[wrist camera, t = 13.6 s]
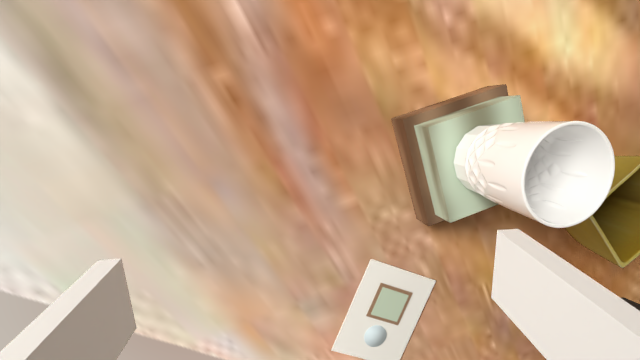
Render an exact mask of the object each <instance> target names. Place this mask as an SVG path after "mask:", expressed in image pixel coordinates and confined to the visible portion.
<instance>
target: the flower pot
mask: <svg viewBox="0 0 640 360" xmlns="http://www.w3.org/2000/svg"><path fill="white" fill-rule="evenodd" d="M614 157H615V173H614V178H613V182H612V186H611V188H610V191H609V193H608V195H607V197H606V199H605V200H604V202H603V203H602V205H601V206H600V207H599V208H598V210H597V211H596V212H595V213H594V214H593V215H591V216H590V217H589V218H587V219H586V220H584V221H583V222H581V223H579V224H577V225H574V226H571V227H566V228H565V229H566V230H567V231H568V232H569V234H570V235H571V236H572V237H573V238H574V239H576V240H577V241H578V242H579V243H581V244H582V245H583V246H585V247H586V248H588V249H590V250H591V251H593V252H595V253H597V254H598V255H600V256H602V257H604V258H605V259H607V260H609V261H611V262H612V263H614V264H616V265H618V266H619V267H621V268H624V267H625V266H626V265H628V264H629V263H630V262H632V261H633V260H634V259H635V258H636V257H638V256H639V255H640V156H614Z"/></svg>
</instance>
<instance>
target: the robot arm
mask: <svg viewBox="0 0 640 360" xmlns="http://www.w3.org/2000/svg"><path fill="white" fill-rule="evenodd" d="M491 298H492V299H493V300H494V301H495V302H496V303H497V305H498V306H499V307H500V308H501V309H502V310H503V311H504V312H505V313H506V315H507V316H508V317H509V318H510V319H511V320H512V321H513V322H514V324H515V325H516V326H517V327H518V328H519V329H520V330H521V331H522V332H523V334H524V335H525V336H526V337H527V338H528V339H529V340H530V341H531V343H532V344H533V345H534V346H535V347H536V348H537V349H538V350H539V351H540V353H541V354H542V355H543V356H544V357H545V358H546V359H547V360H640V304H638V303H635V302H633V301H631V300H628V299H626V298H624V297H623V298H620V297H618V296H617V295H615V294H614V293H612V292H611V291H609V290H608V289H606V288H605V287H603V286H602V285H601V284H599V283H598V282H596V281H595V280H593V279H592V278H590V277H589V276H587V275H586V274H584V273H583V272H581V271H580V270H578V269H577V268H575V267H574V266H572V265H571V264H569V263H568V262H567V261H565V260H564V259H562V258H561V257H559V256H558V255H556V254H555V253H553V252H552V251H550V250H549V249H547V248H546V247H544V246H543V245H541V244H540V243H538V242H537V241H535V240H534V239H533V238H531V237H530V236H528V235H527V234H525V233H524V232H522V231H521V230H519V229H508V230H497V240H496V251H495V262H494V273H493V285H492V296H491ZM135 329H136V323H135V319H134V314H133V310H132V305H131V300H130V296H129V291H128V287H127V282H126V277H125V273H124V268H123V264H122V259H109V260H98V261H97V262H96V263H95V264H94V265H93V266H92V267H90V268H89V269H88V270H87V271H86V272H85V273H84V274H83V275H82V276H81V277H80V278H79V279H78V280H77V281H75V282H74V283H73V284H72V285H71V286H70V287H69V288H68V289H67V290H66V291H65V292H64V293H63V294H62V295H60V296H59V297H58V298H57V299H56V300H55V301H54V302H53V303H52V304H51V305H50V306H49V307H48V308H47V309H45V310H44V311H43V312H42V313H41V314H40V315H39V316H38V317H37V318H36V319H35V320H34V321H33V322H32V323H30V324H29V325H28V326H27V327H26V328H25V329H24V330H23V331H22V332H21V333H20V334H19V335H18V336H17V337H16V338H14V339H13V340H12V341H11V342H10V343H9V344H8V345H7V346H6V347H5V348H4V349H3V350H2V351H1V352H0V360H116V359H117V358H118V356H119V355H120V353H121V351H122V350H123V348H124V347H125V345H126V344H127V342H128V340H129V339H130V337H131V336H132V334H133V332H134V331H135Z"/></svg>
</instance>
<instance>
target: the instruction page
mask: <svg viewBox="0 0 640 360" xmlns="http://www.w3.org/2000/svg"><path fill="white" fill-rule="evenodd" d="M435 282H436V280H433V279H430V278H427V277H424V276H421V275H418V274H415V273H412V272H410V271H407V270H404V269H401V268H398V267H395V266H392V265H389V264H386V263H383V262H380V261H377V260H374V259H370V262H369V264H368V266H367V269H366V271H365V273H364V275H363V278H362V280H361V282H360V285H359V287H358V289H357V292H356V294H355V296H354V298H353V301H352V303H351V305H350V308H349V310H348V312H347V315H346V317H345V319H344V321H343V324H342V326H341V328H340V331H339V333H338V335H337V338H336V340H335V342H334V344H333V347H332V349H331V350H332V351H335V352H339V353H343V354H347V355H351V356H355V357H359V358H363V359H366V360H400V359H401V356H402V354H403V352H404V350H405V348H406V346H407V343H408V341H409V339H410V337H411V335H412V332H413V330H414V328H415V326H416V324H417V321H418V319H419V317H420V315H421V313H422V310H423V308H424V306H425V304H426V302H427V299H428V297H429V295H430V293H431V291H432V288H433V286H434V284H435Z"/></svg>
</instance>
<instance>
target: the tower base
mask: <svg viewBox="0 0 640 360" xmlns="http://www.w3.org/2000/svg"><path fill="white" fill-rule="evenodd" d="M391 120H392V124H393V128H394V132H395V136H396V139H397V143H398V147H399V151H400V155H401V159H402V163H403V167H404V171H405V175H406V179H407V183H408V186H409V190H410V194H411V198H412V202H413V206H414V210H415V214H416V218H417V219H418V220H420V221H422V222H423V223H425V224H426V225H428V226H431V225H434V224H436V223H439V222H441V221H444V220H446V221H448V222H450V223H451V222H454V221H456V220H459V219H462V218H464V217H467V216H469V215H472V214H475V213H477V212H480V211H482V210H485V209H488V208H490V207H493V206H495V205H498V204H497V203H495V202H493V201H491V200H489V199H487V198H485V197H484V196H482V195H481V194H479V193H476V192H474V191H472V190H469V189H467V188H466V187H465V186H464V185H463V184H462V183H461V182H460V180H459V179H458V178H457V176H456V172H455V168H454V157H455V152H456V147H457V146H458V144H459V143H460V141H461V140H462V138H463V137H464V135H465V134H466V133H468V132H469V131H471V130H472V129H474V128H475V127H477V126H481V125H490V124H502V123H515V122H525V121H524V115H523V110H522V104H521V98H520V95H517V96H508V92H507V86H506V84H505V85H495V86H487V87H484V88H481V89H478V90H475V91H472V92H469V93H466V94H463V95H460V96H457V97H454V98H451V99H448V100H446V101H443V102H440V103H437V104H434V105H431V106H428V107H425V108H422V109H419V110H416V111H413V112H410V113H407V114H404V115H401V116H398V117H395V118H392V119H391Z"/></svg>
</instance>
